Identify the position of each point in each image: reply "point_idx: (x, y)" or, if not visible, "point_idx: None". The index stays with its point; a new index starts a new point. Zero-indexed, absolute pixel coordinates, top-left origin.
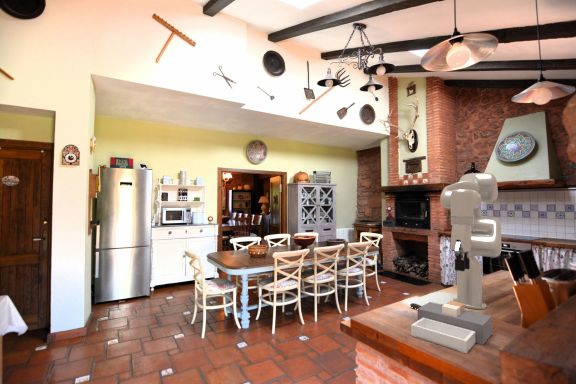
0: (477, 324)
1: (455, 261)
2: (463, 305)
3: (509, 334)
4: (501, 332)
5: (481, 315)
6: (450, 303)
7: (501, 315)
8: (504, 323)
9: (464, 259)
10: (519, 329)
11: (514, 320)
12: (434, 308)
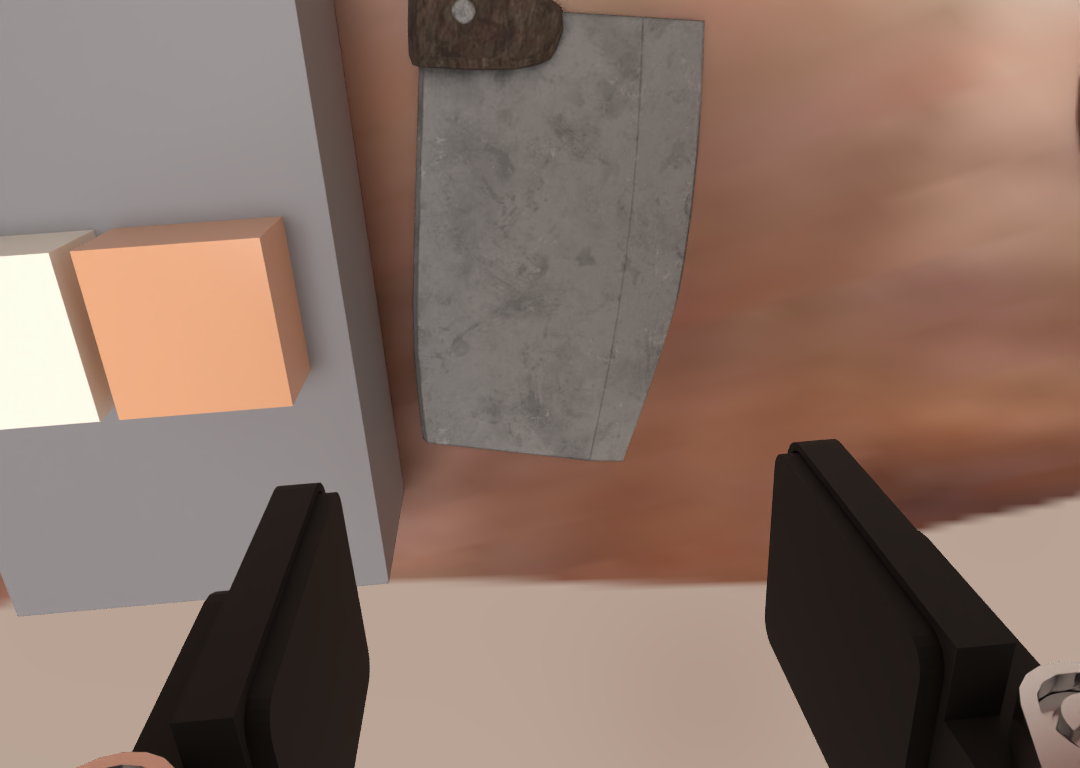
0: (4, 575)
1: (209, 672)
2: (242, 405)
3: (527, 565)
4: (522, 521)
5: None
6: (111, 289)
7: (1038, 404)
8: None
9: (888, 750)
10: (720, 580)
11: (951, 507)
12: (22, 84)
